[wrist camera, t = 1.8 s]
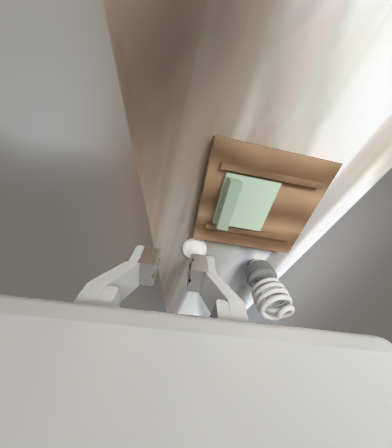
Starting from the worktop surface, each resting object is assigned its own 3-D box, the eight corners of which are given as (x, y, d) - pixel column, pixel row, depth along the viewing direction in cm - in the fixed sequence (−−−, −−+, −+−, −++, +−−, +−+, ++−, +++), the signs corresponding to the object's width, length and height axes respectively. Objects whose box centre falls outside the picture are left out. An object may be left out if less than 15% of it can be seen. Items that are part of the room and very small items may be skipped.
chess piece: (205, 236, 30) (209, 276, 22) (207, 255, 33) (212, 299, 24) (180, 239, 31) (174, 280, 22) (184, 258, 33) (180, 301, 24)
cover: (225, 171, 22) (230, 176, 19) (279, 182, 23) (291, 188, 20) (212, 221, 26) (214, 231, 23) (258, 228, 26) (265, 240, 24)
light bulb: (245, 273, 35) (266, 331, 25) (236, 256, 33) (255, 313, 22) (270, 264, 34) (303, 321, 23) (262, 246, 32) (295, 300, 21)
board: (213, 135, 22) (216, 135, 19) (329, 161, 24) (347, 164, 21) (193, 230, 30) (193, 240, 27) (281, 244, 31) (290, 255, 28)
